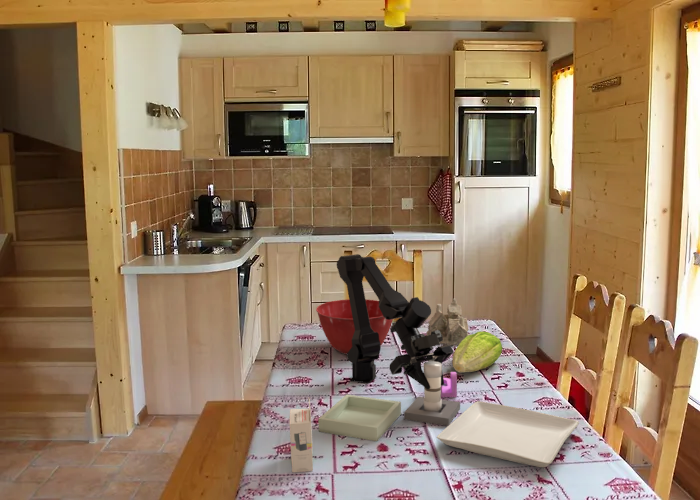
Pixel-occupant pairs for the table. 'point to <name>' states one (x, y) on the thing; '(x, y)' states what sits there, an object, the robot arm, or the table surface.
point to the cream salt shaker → (433, 386)
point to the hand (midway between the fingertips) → (435, 386)
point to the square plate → (509, 433)
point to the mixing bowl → (349, 322)
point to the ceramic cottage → (449, 324)
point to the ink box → (301, 440)
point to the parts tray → (360, 417)
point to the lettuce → (476, 352)
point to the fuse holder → (443, 418)
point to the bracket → (450, 386)
